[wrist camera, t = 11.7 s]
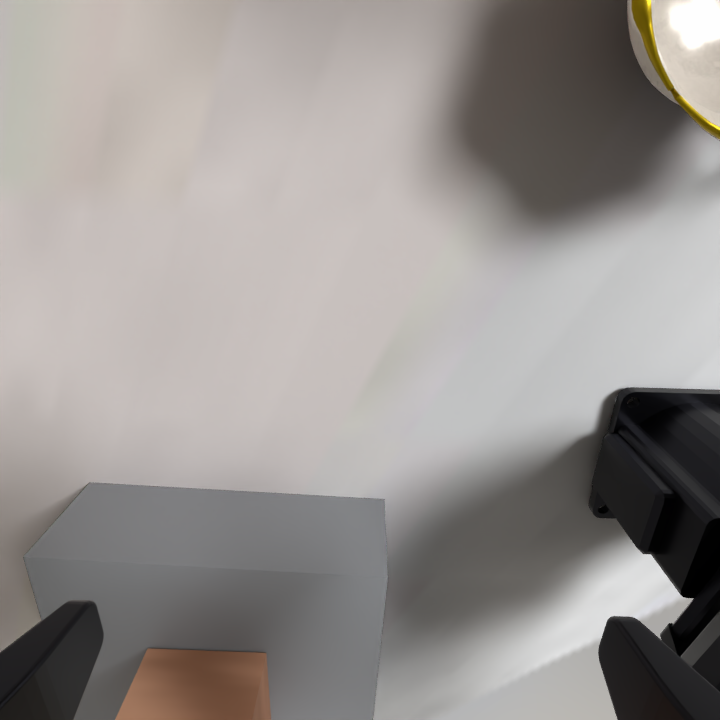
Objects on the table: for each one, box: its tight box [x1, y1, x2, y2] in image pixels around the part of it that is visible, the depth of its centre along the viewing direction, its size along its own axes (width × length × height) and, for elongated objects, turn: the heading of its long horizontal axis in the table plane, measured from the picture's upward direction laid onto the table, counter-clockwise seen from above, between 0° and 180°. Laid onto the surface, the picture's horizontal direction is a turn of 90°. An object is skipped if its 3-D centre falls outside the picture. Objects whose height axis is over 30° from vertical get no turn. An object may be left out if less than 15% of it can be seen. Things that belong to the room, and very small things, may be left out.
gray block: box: [23, 483, 388, 720], centre depth 23 cm, size 14×14×5 cm
